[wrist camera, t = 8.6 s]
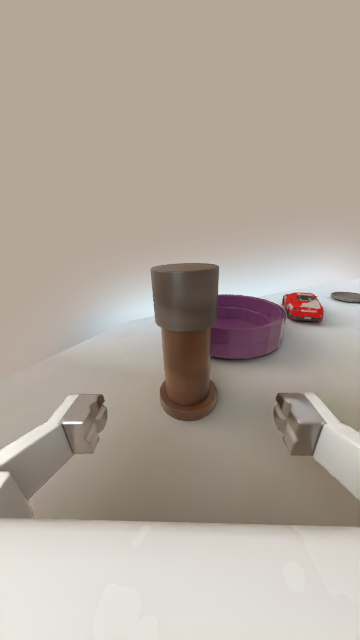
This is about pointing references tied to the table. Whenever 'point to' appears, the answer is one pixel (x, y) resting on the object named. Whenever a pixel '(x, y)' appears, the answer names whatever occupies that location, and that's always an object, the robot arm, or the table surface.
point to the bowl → (246, 327)
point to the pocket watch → (346, 296)
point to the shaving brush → (186, 336)
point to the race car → (303, 307)
